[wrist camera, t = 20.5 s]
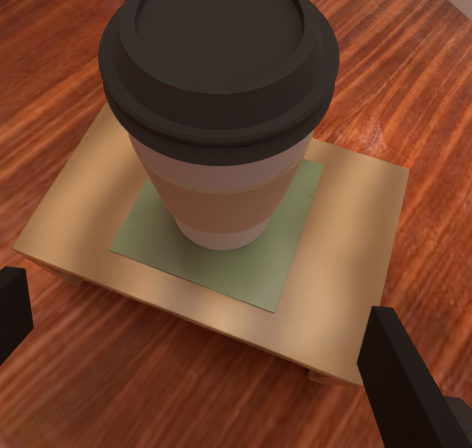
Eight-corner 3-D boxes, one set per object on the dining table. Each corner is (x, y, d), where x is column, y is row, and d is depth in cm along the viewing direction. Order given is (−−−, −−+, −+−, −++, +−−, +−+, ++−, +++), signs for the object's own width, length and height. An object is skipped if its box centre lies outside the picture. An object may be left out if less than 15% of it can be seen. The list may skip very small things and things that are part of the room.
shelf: (368, 217, 36) (411, 167, 28) (324, 385, 30) (363, 387, 22) (144, 141, 39) (121, 74, 31) (64, 281, 33) (8, 247, 25)
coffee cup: (293, 264, 25) (380, 115, 11) (155, 270, 24) (61, 122, 10) (280, 149, 28) (333, -76, 14) (159, 152, 28) (93, -76, 14)
